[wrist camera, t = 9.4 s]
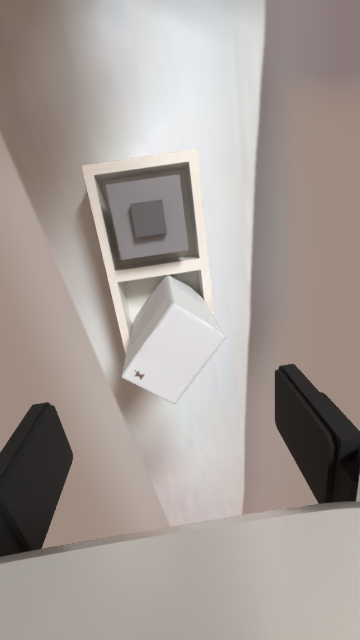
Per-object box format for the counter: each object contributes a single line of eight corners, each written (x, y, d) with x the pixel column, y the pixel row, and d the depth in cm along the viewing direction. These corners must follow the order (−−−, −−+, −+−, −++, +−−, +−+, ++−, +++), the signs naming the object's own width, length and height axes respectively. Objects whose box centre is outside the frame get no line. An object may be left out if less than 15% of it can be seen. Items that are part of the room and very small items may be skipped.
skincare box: (168, 336, 29) (173, 408, 18) (134, 316, 28) (117, 378, 17) (201, 291, 28) (229, 337, 16) (166, 267, 26) (171, 300, 15)
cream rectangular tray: (93, 174, 24) (80, 164, 20) (191, 160, 24) (197, 148, 20) (131, 347, 30) (127, 365, 26) (210, 335, 30) (217, 351, 26)
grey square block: (115, 191, 24) (103, 183, 19) (176, 183, 24) (180, 172, 19) (127, 254, 26) (120, 260, 21) (184, 245, 26) (189, 250, 21)
